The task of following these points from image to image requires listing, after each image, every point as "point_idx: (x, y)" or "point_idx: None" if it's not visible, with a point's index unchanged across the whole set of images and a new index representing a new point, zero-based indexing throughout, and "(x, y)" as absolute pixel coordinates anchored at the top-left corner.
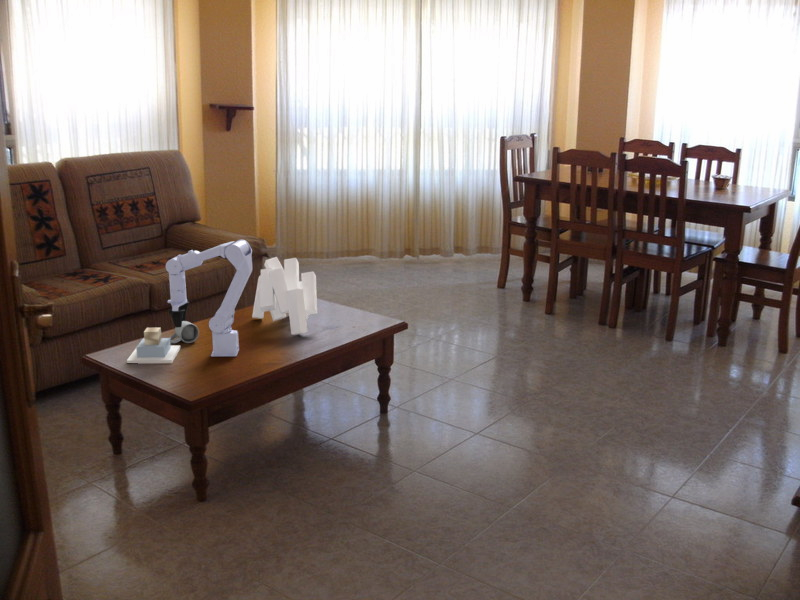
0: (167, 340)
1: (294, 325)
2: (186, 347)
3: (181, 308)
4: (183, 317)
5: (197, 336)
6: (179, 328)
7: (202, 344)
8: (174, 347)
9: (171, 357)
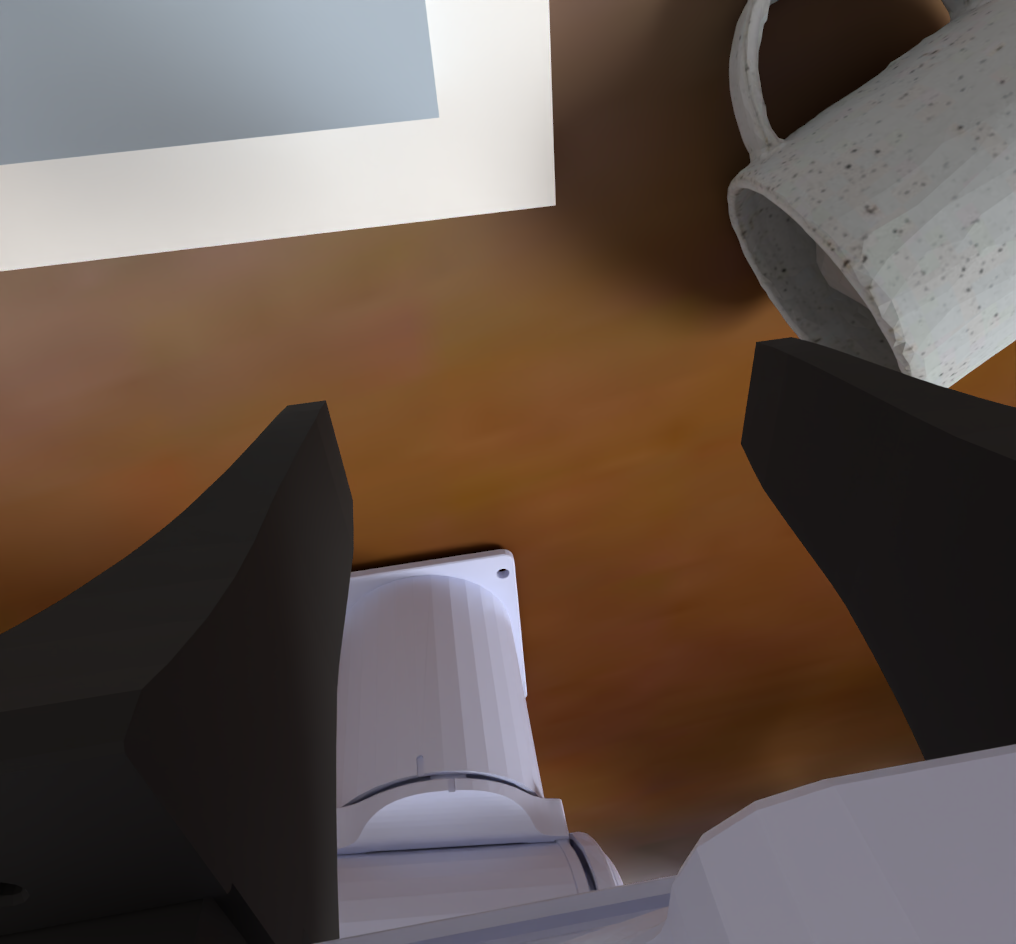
0: (287, 114)
1: None
2: (583, 259)
3: (949, 605)
4: (785, 468)
5: None
6: (911, 156)
7: (676, 401)
8: (460, 146)
9: (36, 243)
